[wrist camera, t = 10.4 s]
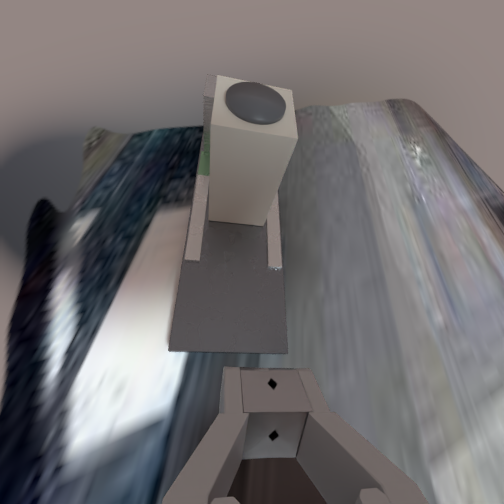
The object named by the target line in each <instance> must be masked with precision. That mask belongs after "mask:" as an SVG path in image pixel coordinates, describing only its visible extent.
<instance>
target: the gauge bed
mask: <svg viewBox="0 0 504 504" xmlns="http://www.w3.org/2000/svg"><path fill="white" fill-rule="evenodd" d="M216 82H217V76H213V75H207V79H206V85H205V91H204V132H203V136H202V142H201V148H200V154H199V161H198V167H197V173H196V179H195V186H194V192H193V198H192V205H191V211H190V217H189V223H188V230H187V236H186V242H185V249H184V255H183V261H182V267H181V274H180V280H179V286H178V293H177V299H176V305H175V311H174V318H173V324H172V330H171V337H170V343H169V349H168V351H169V352H201V353H250V354H288V343H287V326H286V309H285V293H284V276H283V260H282V243H281V227H280V210H279V193H278V191H277V193H276V196H275V198H274V201H273V203H272V206H271V208H270V211H269V213H268V216H267V218H266V221H265V223H264V226H257V225H248V224H238V223H229V222H220V221H210V220H208V217H209V174H210V132H211V118H212V111H213V104H214V97H215V89H216Z"/></svg>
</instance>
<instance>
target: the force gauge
mask: <svg viewBox="0 0 504 504" xmlns="http://www.w3.org/2000/svg"><path fill="white" fill-rule="evenodd" d="M297 140H298V134H297V127H296V119H295V111H294V104H293V96H292V90H289V89H284V88H279V87H274V86H269V85H264V84H260V83H255V82H250V81H245V80H239V79H235V78H230V77H225V76H220V75H217V82H216V89H215V97H214V104H213V111H212V118H211V132H210V174H209V217H208V220H210V221H220V222H229V223H238V224H248V225H257V226H264V223H265V221H266V218H267V216H268V213H269V211H270V208H271V206H272V203H273V201H274V198H275V196H276V193H277V191H278V188H279V186H280V183H281V181H282V178H283V176H284V173H285V170H286V168H287V165H288V163H289V160H290V158H291V155H292V153H293V150H294V148H295V145H296V143H297Z"/></svg>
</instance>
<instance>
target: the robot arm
mask: <svg viewBox="0 0 504 504" xmlns="http://www.w3.org/2000/svg"><path fill="white" fill-rule="evenodd" d="M292 457H297V458H296V460H297V461H298V462H299V464H300V465H301V467H302V468H303V470H304V471H305V473H306V474H307V475H308V477H309V478H310V480H311V481H312V483H313V484H314V485H315V487H316V488H317V490H318V491H319V493H320V494H321V495H322V497H323V498H324V500H325V501H326V503H327V504H429V503H428V502H427V500H426V498H425V497H424V495H423V494H422V492H421V490H420V489H419V487H418V486H417V484H416V483H415V482H414V481H413V480H411V479H410V478H409V477H408V476H407V475H406V474H405V473H403V472H402V471H401V470H400V469H399V468H398V467H397V466H395V465H394V464H393V463H392V462H391V461H390V460H389V459H388V458H386V457H385V456H384V455H383V454H382V453H381V452H380V451H378V450H377V449H376V448H375V447H374V446H373V445H372V444H370V443H369V442H368V441H367V440H366V439H365V438H364V437H363V436H361V435H360V434H359V433H358V432H357V431H356V430H355V429H353V428H352V427H351V426H350V425H349V424H348V423H347V422H346V421H344V420H343V419H342V418H341V417H340V416H339V415H338V414H336V413H335V412H330V410H329V408H328V405H327V403H326V401H325V399H324V397H323V395H322V392H321V390H320V388H319V386H318V384H317V381H316V379H315V377H314V375H313V373H312V371H311V370H310V369H309V368H295V369H294V368H250V367H224V369H223V377H222V385H221V394H220V406H219V414H218V416H217V417H216V419H215V420H214V422H213V423H212V425H211V426H210V428H209V430H208V431H207V433H206V434H205V436H204V437H203V439H202V440H201V442H200V443H199V445H198V446H197V448H196V449H195V451H194V452H193V454H192V455H191V457H190V458H189V460H188V462H187V463H186V465H185V466H184V468H183V469H182V471H181V472H180V474H179V475H178V477H177V478H176V480H175V481H174V483H173V484H172V486H171V487H170V489H169V490H168V492H167V493H166V495H165V497H164V498H163V502H162V504H240V503H239V502H238V501H237V500H236V499H235V498H234V497H227V494H228V492H229V490H230V487H231V485H232V482H233V480H234V478H235V475H236V473H237V470H238V468H239V466H240V463H241V460H243V459H256V458H292Z"/></svg>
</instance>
